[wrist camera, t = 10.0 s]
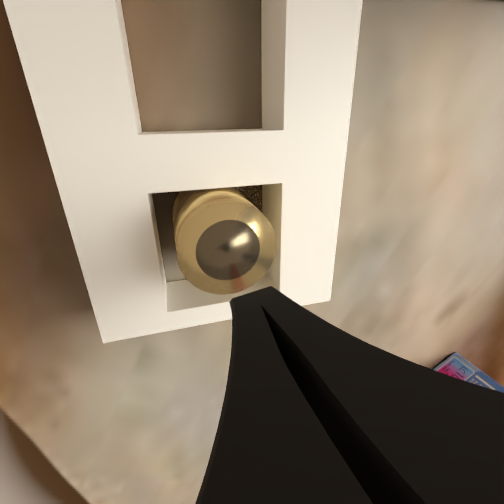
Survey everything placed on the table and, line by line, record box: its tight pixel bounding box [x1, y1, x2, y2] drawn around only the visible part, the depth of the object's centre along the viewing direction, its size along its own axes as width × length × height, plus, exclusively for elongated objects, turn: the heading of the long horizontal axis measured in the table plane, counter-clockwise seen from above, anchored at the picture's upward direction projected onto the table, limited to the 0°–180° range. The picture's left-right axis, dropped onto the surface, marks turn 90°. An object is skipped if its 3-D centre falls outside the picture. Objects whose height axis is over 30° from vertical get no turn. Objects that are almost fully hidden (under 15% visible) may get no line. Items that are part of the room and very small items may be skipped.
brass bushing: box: [172, 187, 276, 295], centre depth 14 cm, size 4×4×5 cm
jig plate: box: [3, 0, 363, 343], centre depth 13 cm, size 12×16×3 cm
